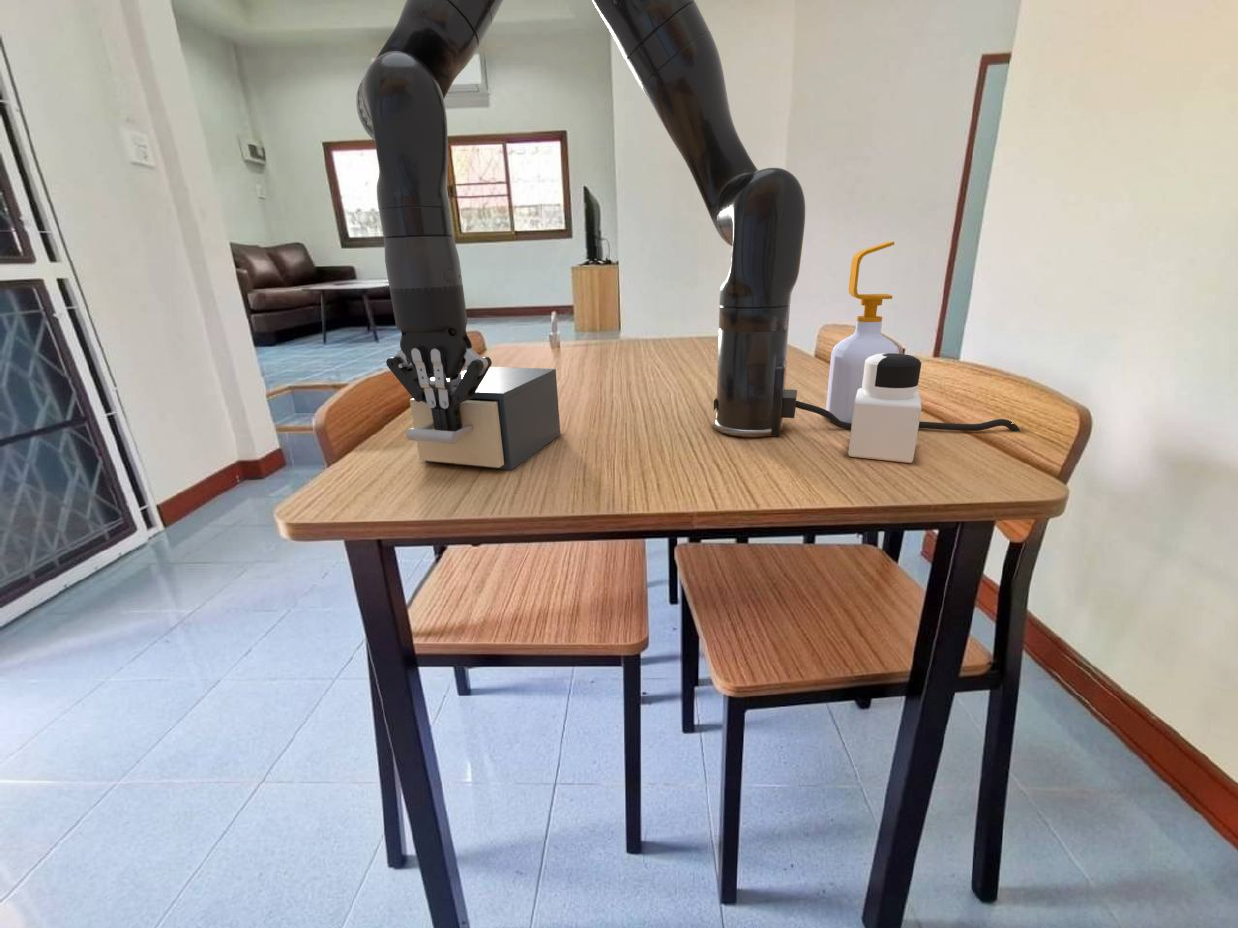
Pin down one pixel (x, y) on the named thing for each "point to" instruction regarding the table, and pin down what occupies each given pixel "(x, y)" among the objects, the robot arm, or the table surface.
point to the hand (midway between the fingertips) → (449, 436)
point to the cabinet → (522, 410)
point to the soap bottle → (856, 347)
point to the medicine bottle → (887, 409)
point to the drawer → (460, 434)
